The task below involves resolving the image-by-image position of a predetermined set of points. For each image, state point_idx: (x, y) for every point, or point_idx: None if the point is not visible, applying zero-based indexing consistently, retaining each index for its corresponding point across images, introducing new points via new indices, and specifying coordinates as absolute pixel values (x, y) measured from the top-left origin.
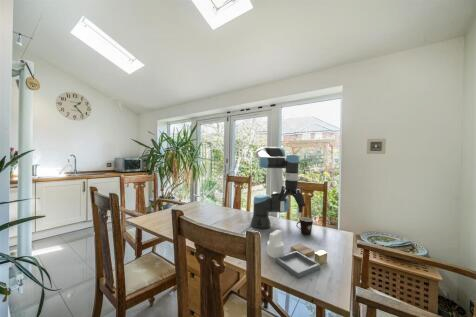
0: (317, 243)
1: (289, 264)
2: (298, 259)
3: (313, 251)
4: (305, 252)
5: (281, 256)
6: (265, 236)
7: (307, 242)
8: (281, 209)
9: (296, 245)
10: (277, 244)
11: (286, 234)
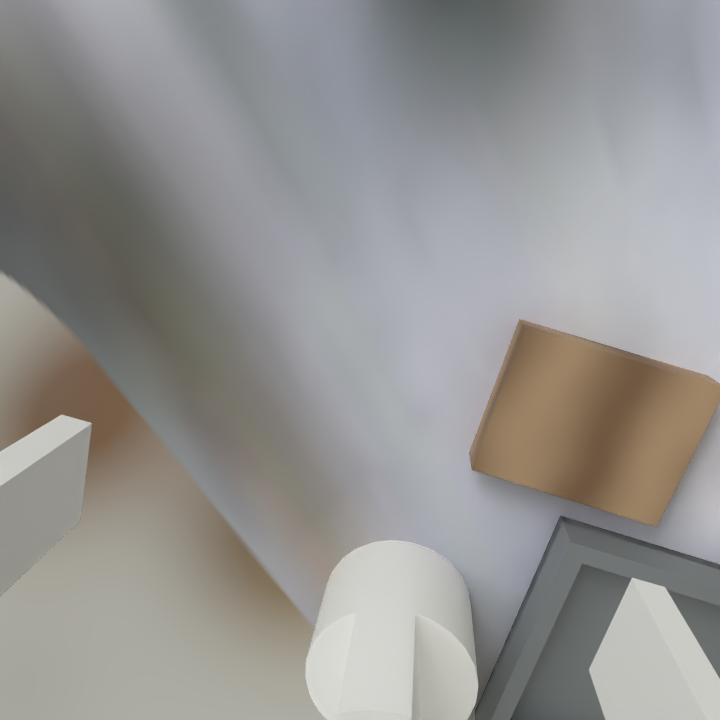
0: (662, 56)
1: (585, 696)
2: (618, 590)
3: (717, 402)
4: (652, 489)
5: (508, 710)
6: (105, 363)
7: (542, 135)
8: (46, 547)
9: (510, 409)
10: (422, 694)
11: (225, 113)
